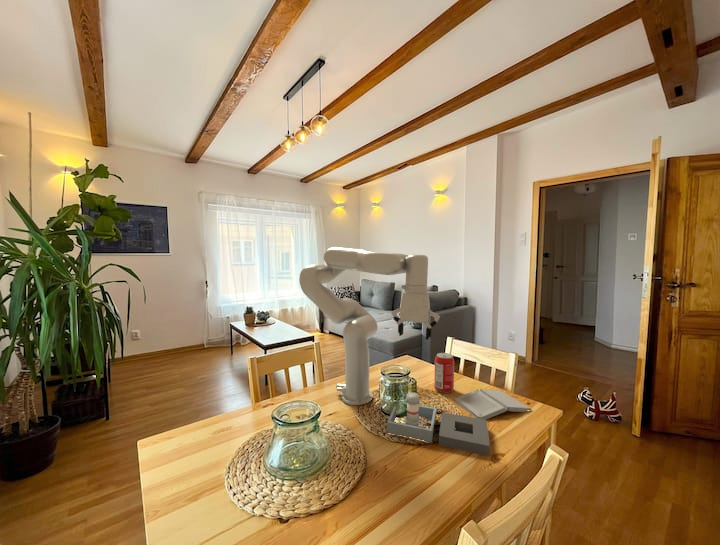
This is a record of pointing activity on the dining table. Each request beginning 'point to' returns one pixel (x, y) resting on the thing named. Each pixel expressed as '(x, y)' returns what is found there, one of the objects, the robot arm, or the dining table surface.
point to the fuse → (412, 409)
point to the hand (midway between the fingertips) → (414, 336)
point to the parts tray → (414, 430)
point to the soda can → (444, 373)
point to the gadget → (489, 403)
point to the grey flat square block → (463, 440)
